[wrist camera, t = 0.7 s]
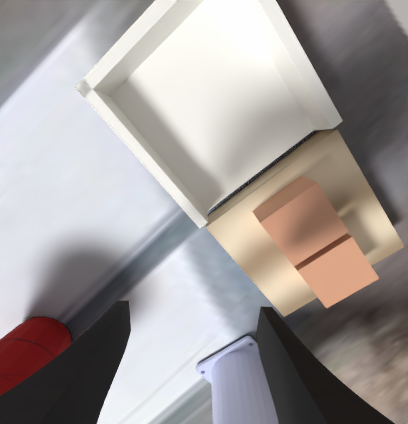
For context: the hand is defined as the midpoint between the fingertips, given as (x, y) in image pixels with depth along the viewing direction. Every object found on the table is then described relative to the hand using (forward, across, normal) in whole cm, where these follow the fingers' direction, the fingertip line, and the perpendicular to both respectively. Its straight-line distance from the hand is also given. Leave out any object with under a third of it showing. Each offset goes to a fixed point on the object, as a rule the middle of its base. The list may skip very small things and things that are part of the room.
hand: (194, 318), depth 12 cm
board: (+10, -9, -2) cm, 13 cm away
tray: (+10, -1, -11) cm, 15 cm away
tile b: (+7, -7, -4) cm, 11 cm away
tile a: (+7, -11, 0) cm, 13 cm away
